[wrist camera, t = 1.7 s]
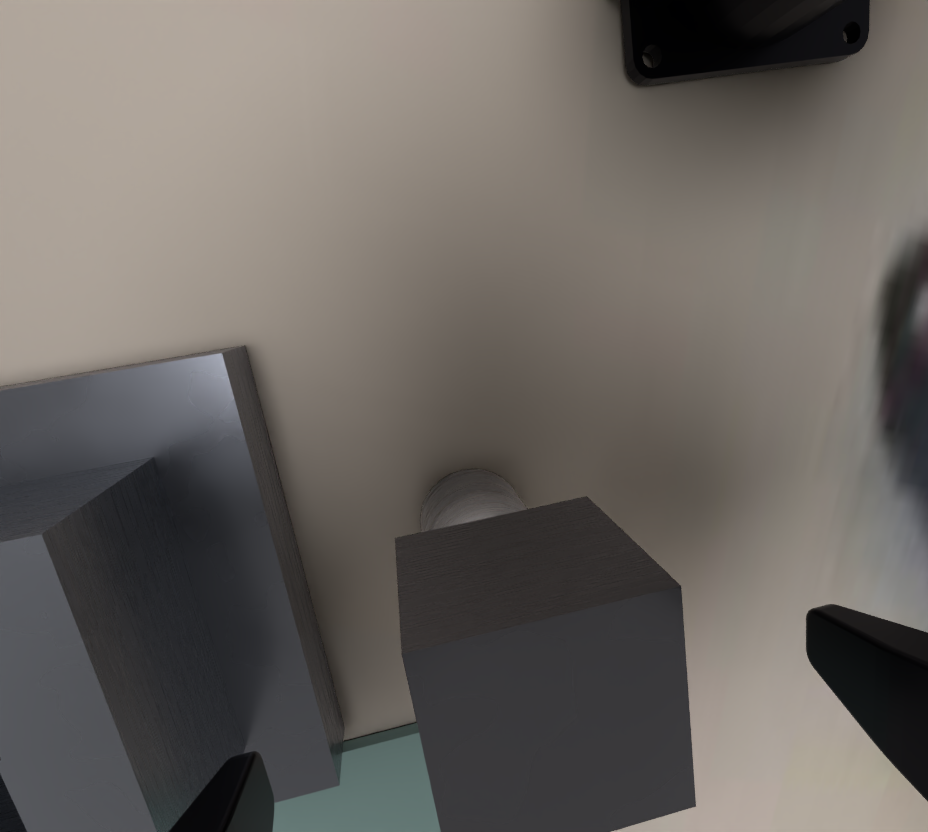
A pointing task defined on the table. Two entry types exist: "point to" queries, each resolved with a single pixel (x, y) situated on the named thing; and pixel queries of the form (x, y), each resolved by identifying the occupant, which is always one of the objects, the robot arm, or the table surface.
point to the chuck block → (150, 600)
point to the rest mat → (369, 790)
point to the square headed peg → (542, 664)
